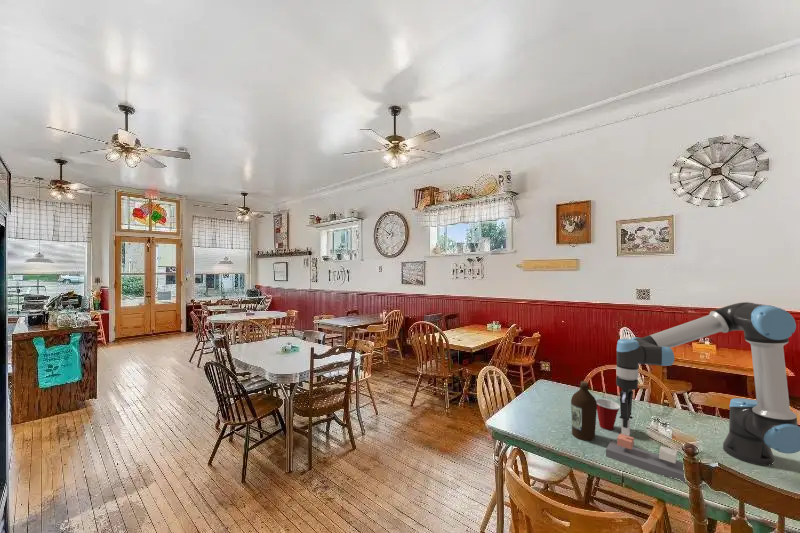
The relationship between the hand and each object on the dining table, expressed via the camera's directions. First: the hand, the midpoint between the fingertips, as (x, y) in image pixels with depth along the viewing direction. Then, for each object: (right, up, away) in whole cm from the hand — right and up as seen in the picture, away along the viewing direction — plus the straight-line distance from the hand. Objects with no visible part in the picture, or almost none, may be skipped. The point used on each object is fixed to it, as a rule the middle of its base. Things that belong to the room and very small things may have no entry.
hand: (625, 434), depth 145 cm
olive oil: (-8, -9, +18) cm, 22 cm away
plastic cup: (+8, -9, +26) cm, 28 cm away
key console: (+5, -10, -5) cm, 12 cm away
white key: (+10, -5, -9) cm, 15 cm away
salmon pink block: (0, -5, 0) cm, 5 cm away
